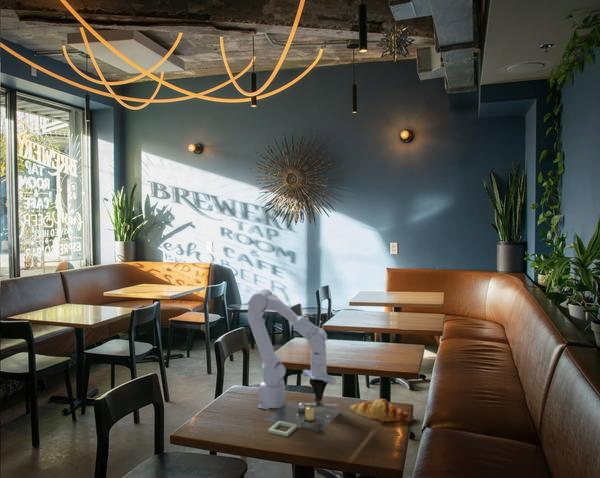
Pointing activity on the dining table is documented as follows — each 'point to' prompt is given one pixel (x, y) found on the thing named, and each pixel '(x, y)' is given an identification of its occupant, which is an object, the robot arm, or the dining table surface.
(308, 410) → the olive brown rounded cylinder
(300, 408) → the crank
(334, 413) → the crank plate
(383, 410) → the croissant
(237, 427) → the dining table surface
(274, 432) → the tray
